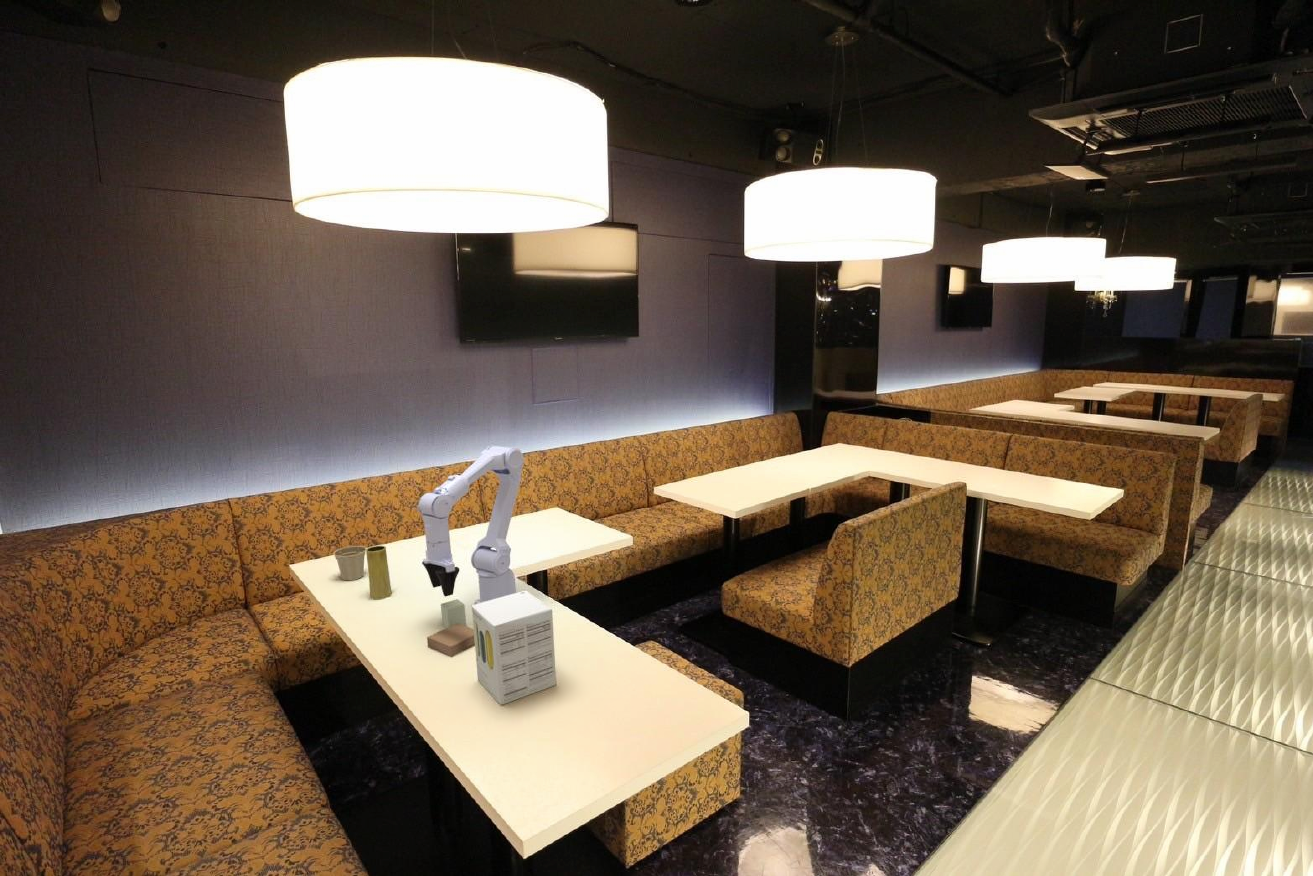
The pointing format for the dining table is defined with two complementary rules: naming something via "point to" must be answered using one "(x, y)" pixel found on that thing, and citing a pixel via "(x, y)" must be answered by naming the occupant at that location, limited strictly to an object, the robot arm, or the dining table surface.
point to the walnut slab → (452, 640)
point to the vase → (378, 572)
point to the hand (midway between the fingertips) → (442, 590)
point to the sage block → (453, 613)
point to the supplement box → (514, 646)
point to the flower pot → (351, 562)
